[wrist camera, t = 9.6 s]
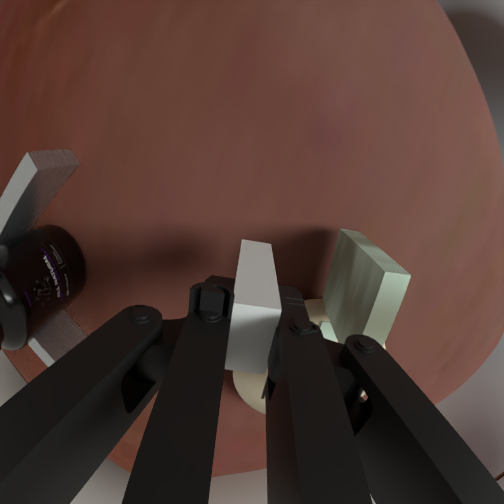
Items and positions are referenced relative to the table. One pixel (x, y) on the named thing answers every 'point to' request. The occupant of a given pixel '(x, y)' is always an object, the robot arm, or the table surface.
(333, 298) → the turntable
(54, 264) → the supplement bottle
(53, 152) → the vee block
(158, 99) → the table surface
